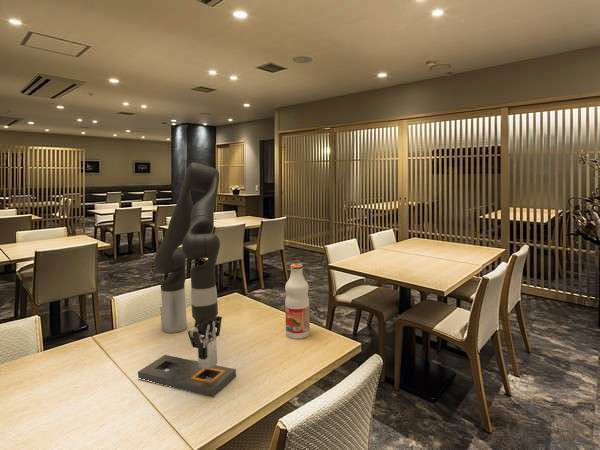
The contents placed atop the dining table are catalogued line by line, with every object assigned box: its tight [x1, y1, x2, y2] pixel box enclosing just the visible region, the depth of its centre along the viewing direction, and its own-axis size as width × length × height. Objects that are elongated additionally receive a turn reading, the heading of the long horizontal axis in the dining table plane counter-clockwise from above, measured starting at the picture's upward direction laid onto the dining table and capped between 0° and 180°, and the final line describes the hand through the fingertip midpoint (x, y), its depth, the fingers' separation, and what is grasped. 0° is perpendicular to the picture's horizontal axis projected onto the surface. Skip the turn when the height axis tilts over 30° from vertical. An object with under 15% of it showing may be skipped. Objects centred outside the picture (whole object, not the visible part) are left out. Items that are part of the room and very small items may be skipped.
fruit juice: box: [284, 263, 311, 340], centre depth 149 cm, size 9×9×28 cm
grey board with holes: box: [137, 354, 237, 398], centre depth 120 cm, size 28×12×3 cm, turn 68°
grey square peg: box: [196, 337, 218, 370], centre depth 115 cm, size 4×4×8 cm
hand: (207, 355), depth 116 cm, fingers closed on grey square peg, 4 cm apart
